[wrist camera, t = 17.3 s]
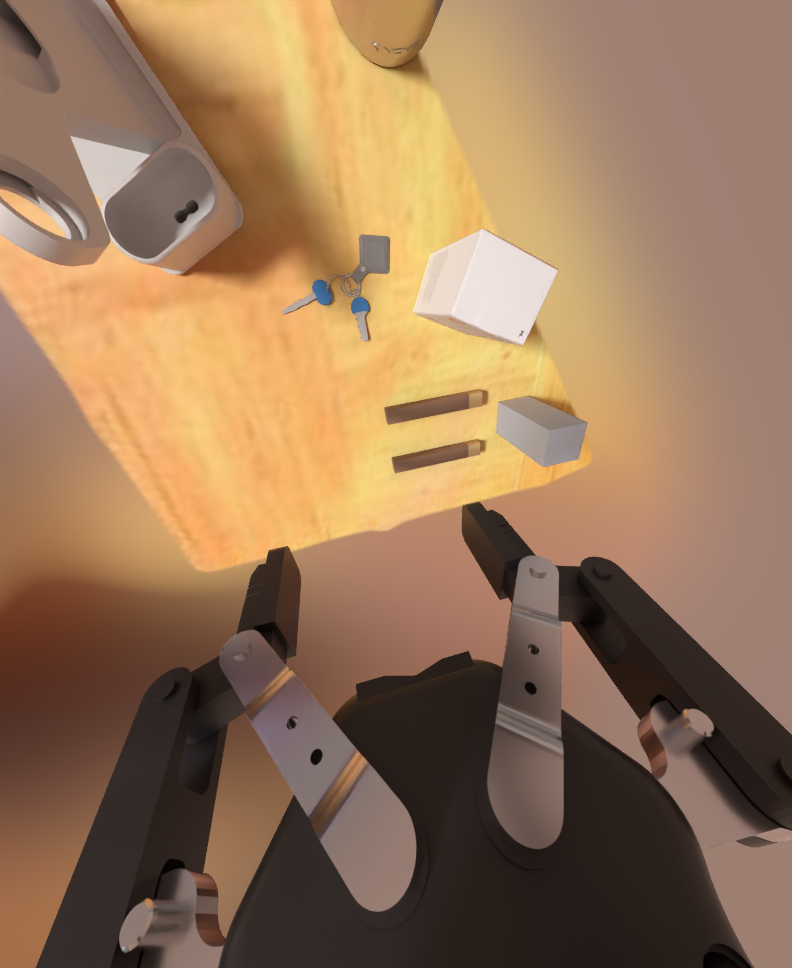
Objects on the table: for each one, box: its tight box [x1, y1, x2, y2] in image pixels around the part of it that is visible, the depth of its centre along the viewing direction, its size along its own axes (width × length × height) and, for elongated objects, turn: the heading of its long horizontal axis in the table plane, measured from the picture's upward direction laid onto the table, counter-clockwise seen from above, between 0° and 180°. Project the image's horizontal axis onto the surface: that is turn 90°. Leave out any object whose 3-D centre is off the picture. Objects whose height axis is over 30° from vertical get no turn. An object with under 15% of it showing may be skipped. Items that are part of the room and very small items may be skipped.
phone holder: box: [0, 0, 244, 275], centre depth 17 cm, size 17×10×18 cm, turn 30°
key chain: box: [282, 235, 390, 341], centre depth 34 cm, size 14×8×1 cm, turn 125°
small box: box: [413, 228, 558, 345], centre depth 30 cm, size 8×6×13 cm
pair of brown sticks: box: [384, 390, 483, 473], centre depth 44 cm, size 10×14×2 cm
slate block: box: [496, 396, 587, 467], centre depth 41 cm, size 5×5×12 cm
